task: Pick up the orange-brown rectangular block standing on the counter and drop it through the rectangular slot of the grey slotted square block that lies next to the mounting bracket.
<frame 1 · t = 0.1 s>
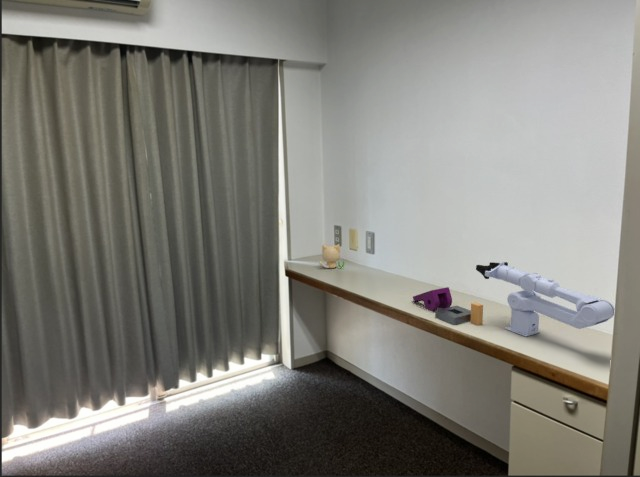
hand: (483, 266, 192), 22 cm above the table, tool horizontal, fingers open, 7 cm apart
grey slotted square block: (455, 318, 194), on the table
kitten: (332, 268, 286), on the table
mounting bracket: (429, 306, 212), on the table
orange-brown rectangular block: (476, 323, 188), on the table
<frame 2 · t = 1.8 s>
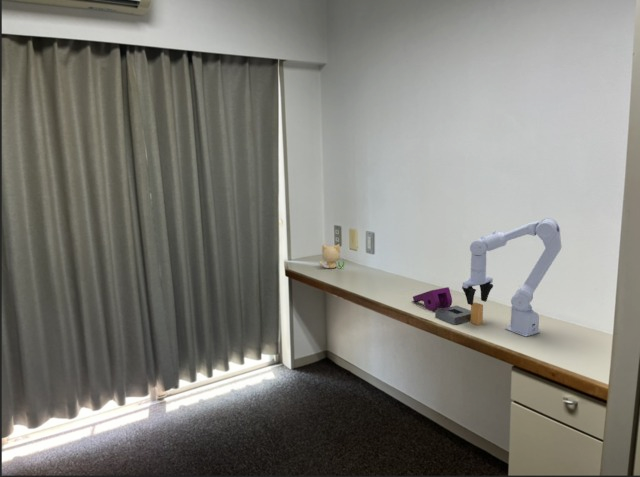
hand: (477, 302, 187), 9 cm above the table, tool pointing down, fingers open, 7 cm apart
nothing on the table moved.
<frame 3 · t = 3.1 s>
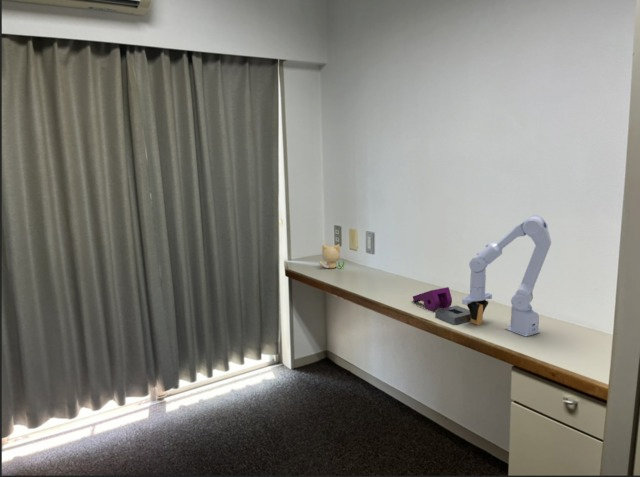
hand: (476, 318, 188), 2 cm above the table, tool pointing down, fingers closed on orange-brown rectangular block, 2 cm apart
orange-brown rectangular block: (476, 323, 188), on the table, touching gripper
everything else where it was.
when the fingers open (4 cm above the table, at t = 5.9 s): orange-brown rectangular block stays where it is, resting in grey slotted square block.
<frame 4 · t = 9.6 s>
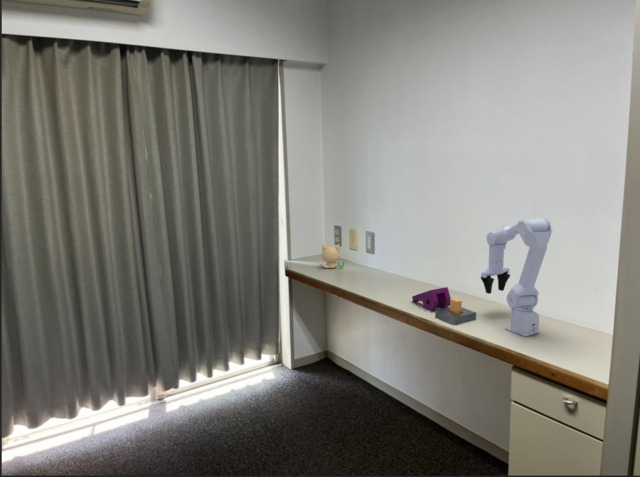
hand: (494, 291, 196), 10 cm above the table, tool pointing down, fingers open, 7 cm apart
orange-brown rectangular block: (455, 318, 194), resting in grey slotted square block
everything else where it was.
at the end: orange-brown rectangular block 0.0 cm off-centre on the grey slotted square block, point 0.0 cm above the grey slotted square block's base; orange-brown rectangular block tilted 0°; the gripper is holding nothing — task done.
